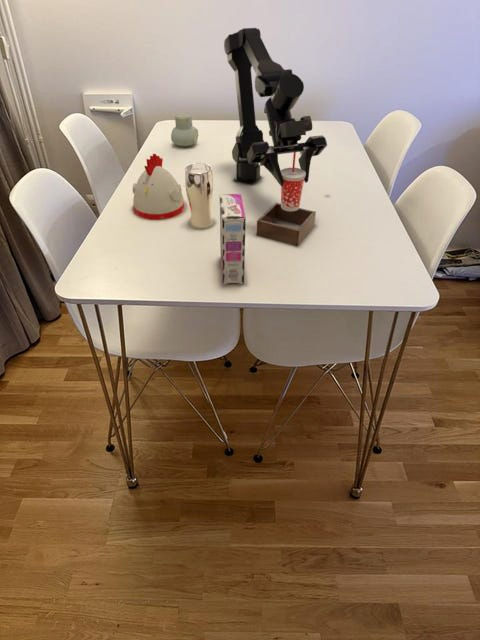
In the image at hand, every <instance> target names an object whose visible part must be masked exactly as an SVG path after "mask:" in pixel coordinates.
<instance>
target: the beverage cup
mask: <svg viewBox="0 0 480 640" xmlns="http://www.w3.org/2000/svg"><path fill="white" fill-rule="evenodd" d="M296 154H297V152H296V151H294V152H293V157H292V167H285V168H282V169H280V170H281V174H282V177H283V183H284V184H283V186H280V204H281V208H282V209H283V210H285V211H296V210H298V209H299V208H301V207H300V206H301V200H302V195H303V188H304V183H305V181H304V178H305V175H306V172H305V171H304V170H302V169H301V168H299V167H295V165H296V156H297V155H296Z"/></svg>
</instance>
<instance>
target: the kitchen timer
mask: <svg viewBox="0 0 480 640" xmlns="http://www.w3.org/2000/svg"><path fill="white" fill-rule="evenodd" d="M163 161H164V159H163V157H161V156H160V155H158V154H157V153H152V155H150V156H149V158H146V165H144V170H143V171H142V172H141V174H140V175H139V177H138V178H137V181H136V182H133V184H132V193H133V199H132V201H133V202H132V203H133V210H134V213H135V215H137V216H138V217H140V218H143V219H145V220H150V221H151V220H152V221H160V220H167V219H171V218H174V217H176V216H179V215H180V214H182V213H183V211H184V210H185V199H184V195H183V192H182V185H181V184H180V183H178V181H177V180H176V178H175V177H174V175H172V173H171V172H169V171H168V169H166V168H165V167H163V163H164V162H163Z"/></svg>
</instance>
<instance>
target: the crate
mask: <svg viewBox="0 0 480 640" xmlns="http://www.w3.org/2000/svg"><path fill="white" fill-rule="evenodd" d="M316 215H317V211H315V210H310V209H306V208H301V207H299V209H298V210H296V211H285V210H283V209H282V208H281V202H280V203H279V202H274V204H272V205H271V207H269V208H268V209H267V210H266V211H265V212H264V213H263V214H262V215H261V216H260V217H259V218H258V219H257V220H256V236H257V237H262V238H264V239H269V240H273V241H276V242H280V243H284V244H288V245H292V246H296V247H299V246H300V245H301V243H302V242H303V240H305V238H306V237H307V236H308V235H309V234H310V232H311V231H312V230H313V228H314V227H315V224H316V223H315V222H316ZM276 219H278V220H282V221H286V222H290V223H293V224H298V225H300V226H299V227H298V228H294V227H290V226H286V225H282V224H278V223H273V222H274V221H275V220H276Z"/></svg>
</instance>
